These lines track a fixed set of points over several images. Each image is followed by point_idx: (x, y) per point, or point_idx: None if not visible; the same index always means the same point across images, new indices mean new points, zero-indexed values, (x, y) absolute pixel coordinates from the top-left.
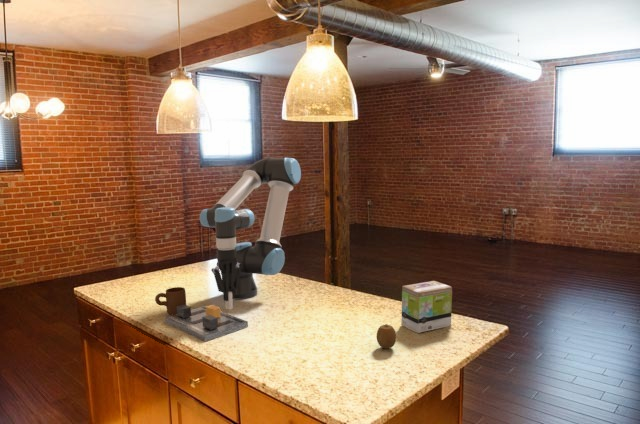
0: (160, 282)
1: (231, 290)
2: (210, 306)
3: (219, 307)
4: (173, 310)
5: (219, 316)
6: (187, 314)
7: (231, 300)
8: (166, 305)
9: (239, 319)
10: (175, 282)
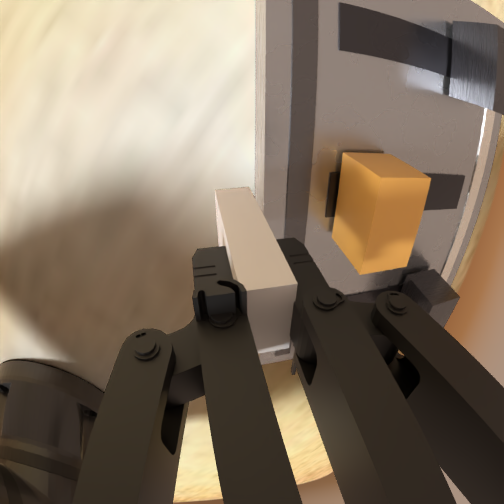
0: (216, 486)
1: (247, 317)
2: (392, 251)
3: (383, 180)
4: None
5: (352, 153)
6: (427, 280)
7: (239, 226)
8: None
9: (280, 1)
10: (191, 483)
